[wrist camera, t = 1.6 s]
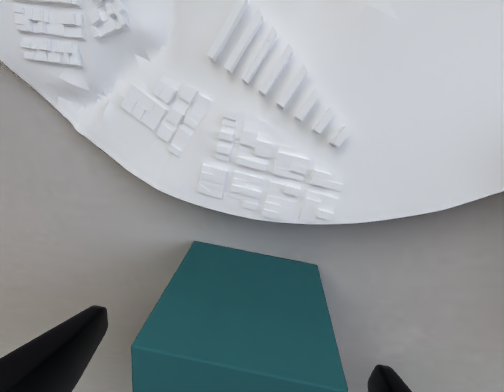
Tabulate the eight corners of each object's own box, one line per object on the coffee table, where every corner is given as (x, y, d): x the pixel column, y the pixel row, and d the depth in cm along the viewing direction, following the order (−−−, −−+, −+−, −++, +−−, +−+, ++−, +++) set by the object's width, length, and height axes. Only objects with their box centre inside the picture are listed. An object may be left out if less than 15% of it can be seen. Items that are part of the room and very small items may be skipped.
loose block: (286, 360, 10) (292, 506, 7) (185, 339, 10) (134, 471, 7) (317, 264, 8) (350, 393, 5) (194, 240, 9) (130, 345, 5)
